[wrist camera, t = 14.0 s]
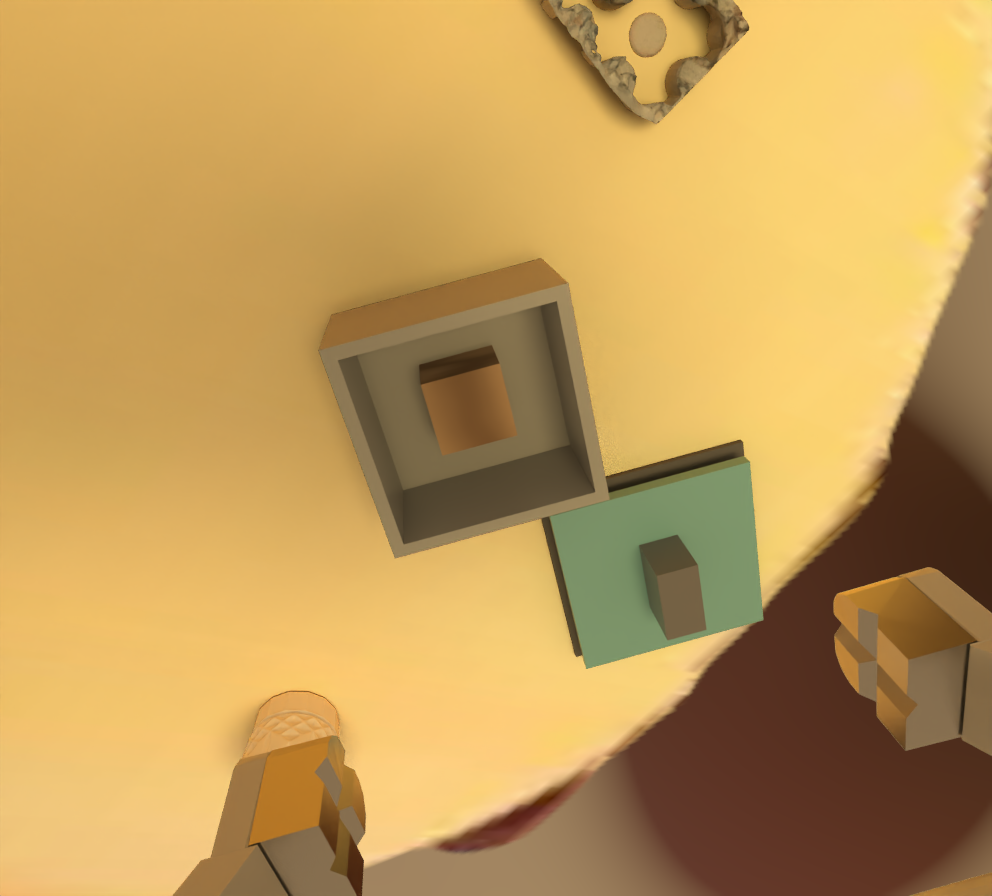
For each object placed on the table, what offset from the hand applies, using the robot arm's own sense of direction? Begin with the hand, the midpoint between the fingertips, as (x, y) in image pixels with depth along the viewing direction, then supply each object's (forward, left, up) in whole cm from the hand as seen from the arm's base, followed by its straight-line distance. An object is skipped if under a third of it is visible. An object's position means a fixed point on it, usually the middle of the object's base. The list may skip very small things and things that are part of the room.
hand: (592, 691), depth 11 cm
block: (-1, -8, -36) cm, 37 cm away
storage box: (-1, -8, -37) cm, 38 cm away
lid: (+10, -26, -37) cm, 46 cm away
